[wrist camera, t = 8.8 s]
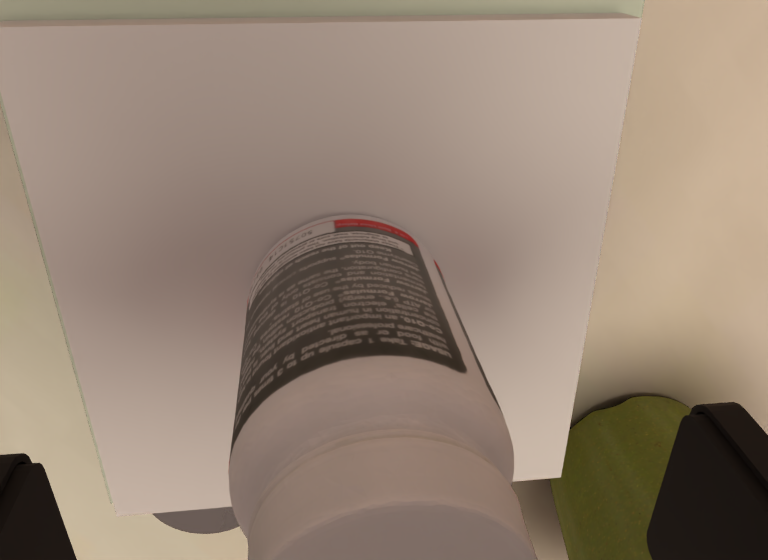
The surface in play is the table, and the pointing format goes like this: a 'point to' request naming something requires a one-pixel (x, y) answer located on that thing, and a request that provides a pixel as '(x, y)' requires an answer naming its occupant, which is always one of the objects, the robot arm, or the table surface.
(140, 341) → the scale
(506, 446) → the pill bottle
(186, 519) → the spacer
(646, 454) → the plant pot
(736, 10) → the table surface
